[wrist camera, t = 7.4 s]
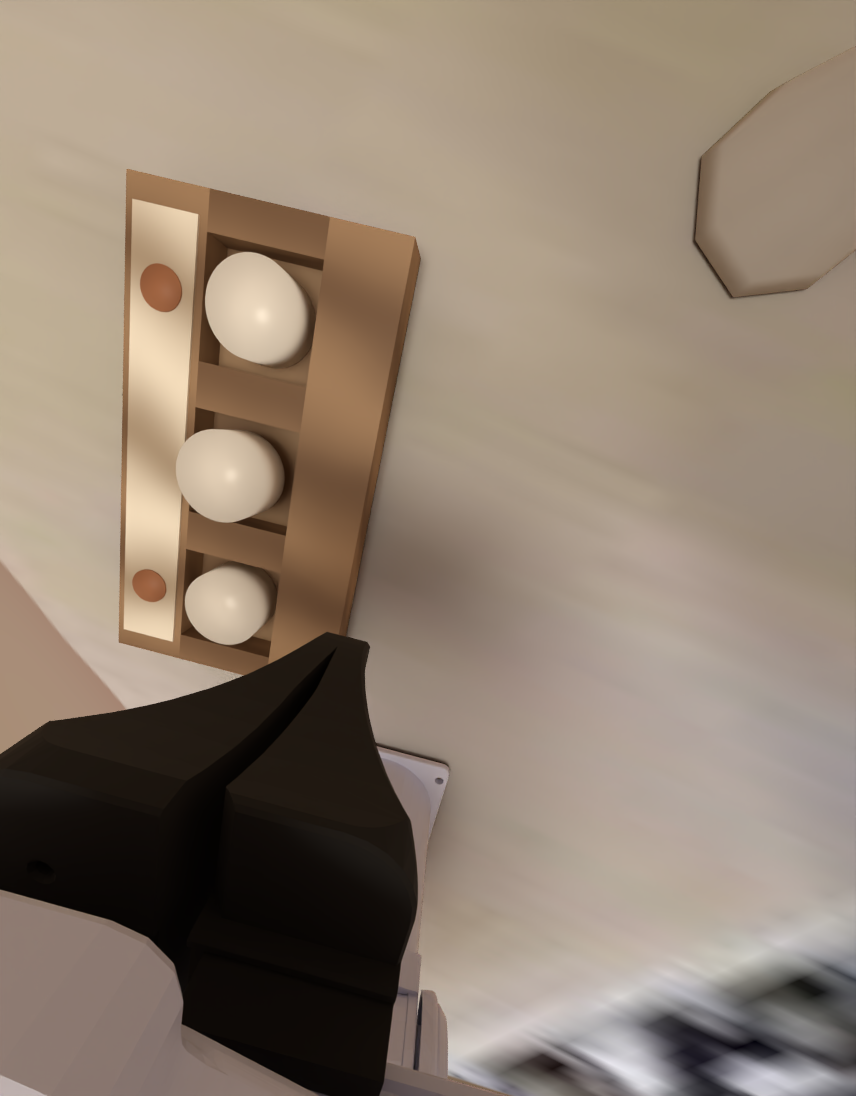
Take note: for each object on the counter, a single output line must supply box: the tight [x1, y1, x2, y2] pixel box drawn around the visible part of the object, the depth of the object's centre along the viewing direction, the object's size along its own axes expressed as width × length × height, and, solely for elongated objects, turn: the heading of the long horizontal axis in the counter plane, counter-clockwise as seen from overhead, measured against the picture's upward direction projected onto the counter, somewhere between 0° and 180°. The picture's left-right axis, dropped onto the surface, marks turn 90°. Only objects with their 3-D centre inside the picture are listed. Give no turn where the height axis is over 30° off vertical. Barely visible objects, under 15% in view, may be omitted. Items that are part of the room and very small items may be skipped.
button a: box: [205, 252, 316, 369], centre depth 17 cm, size 4×4×2 cm
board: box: [119, 169, 421, 675], centre depth 20 cm, size 22×12×2 cm, turn 167°
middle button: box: [176, 429, 285, 523], centre depth 18 cm, size 4×4×2 cm
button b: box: [185, 561, 278, 645], centre depth 21 cm, size 4×4×2 cm
